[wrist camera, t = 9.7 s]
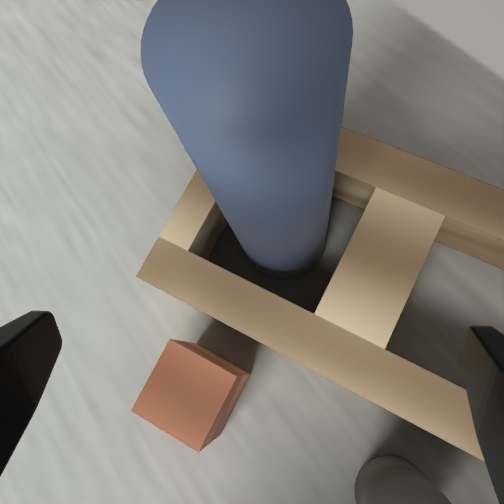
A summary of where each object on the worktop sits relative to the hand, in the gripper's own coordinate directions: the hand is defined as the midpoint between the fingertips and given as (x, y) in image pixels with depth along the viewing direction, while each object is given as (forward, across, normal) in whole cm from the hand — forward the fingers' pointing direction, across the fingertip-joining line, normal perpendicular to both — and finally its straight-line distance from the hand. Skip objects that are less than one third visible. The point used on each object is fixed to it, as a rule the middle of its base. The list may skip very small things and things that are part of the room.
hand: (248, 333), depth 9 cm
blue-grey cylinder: (+12, 0, +4) cm, 12 cm away
